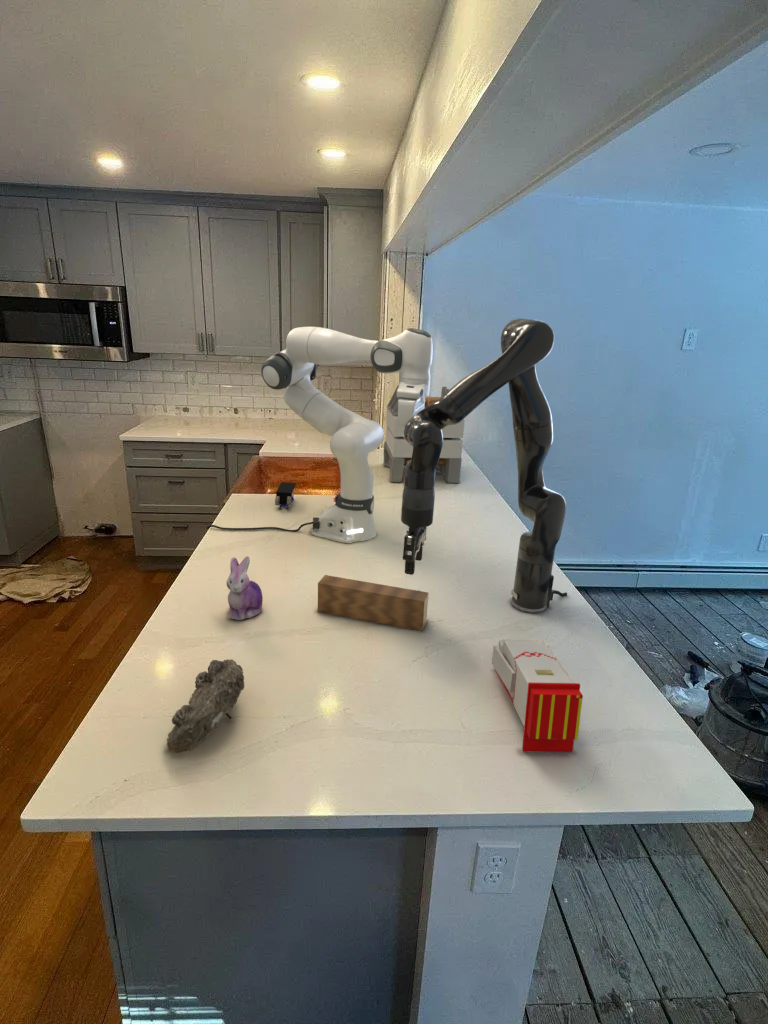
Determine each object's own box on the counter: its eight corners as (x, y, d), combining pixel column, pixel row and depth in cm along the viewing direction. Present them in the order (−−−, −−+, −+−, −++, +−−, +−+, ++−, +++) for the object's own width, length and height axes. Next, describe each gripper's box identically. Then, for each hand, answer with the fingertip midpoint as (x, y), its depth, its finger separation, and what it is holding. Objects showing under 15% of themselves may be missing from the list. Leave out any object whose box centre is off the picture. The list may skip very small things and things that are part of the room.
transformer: (382, 463, 289) (386, 382, 275) (445, 464, 293) (451, 384, 279) (390, 482, 257) (394, 392, 243) (460, 483, 261) (468, 394, 247)
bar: (317, 611, 147) (317, 582, 144) (324, 602, 151) (324, 574, 149) (422, 631, 140) (424, 601, 137) (426, 621, 145) (428, 592, 142)
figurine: (231, 625, 139) (228, 569, 133) (222, 606, 147) (219, 553, 142) (269, 617, 143) (267, 563, 138) (258, 599, 151) (256, 547, 146)
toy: (540, 622, 128) (592, 691, 98) (535, 677, 130) (584, 759, 101) (487, 621, 127) (523, 690, 98) (483, 676, 130) (516, 758, 101)
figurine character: (292, 514, 217) (296, 498, 230) (291, 496, 214) (296, 480, 227) (274, 514, 217) (280, 497, 230) (273, 496, 213) (279, 480, 227)
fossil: (192, 660, 117) (244, 628, 112) (224, 691, 120) (276, 661, 115) (142, 746, 98) (202, 712, 93) (182, 779, 101) (242, 748, 96)
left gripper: (411, 383, 173) (407, 428, 178) (395, 391, 154) (392, 441, 159) (431, 385, 172) (427, 430, 176) (417, 393, 153) (413, 444, 158)
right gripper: (427, 515, 125) (422, 581, 130) (439, 497, 138) (434, 557, 143) (394, 511, 127) (390, 576, 132) (409, 493, 140) (405, 553, 145)
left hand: (410, 435), depth 167 cm, fingers open, 8 cm apart
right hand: (413, 566), depth 138 cm, fingers open, 8 cm apart
